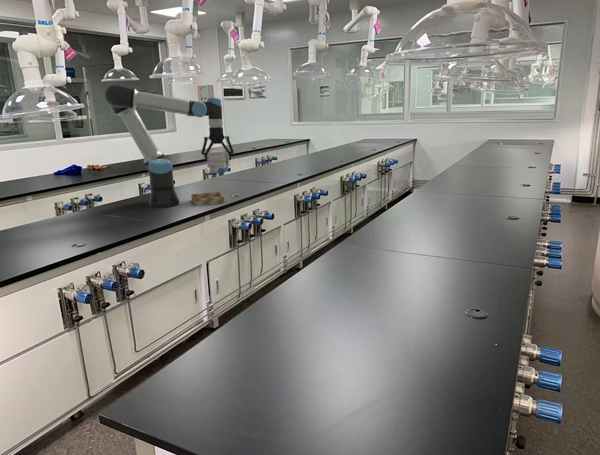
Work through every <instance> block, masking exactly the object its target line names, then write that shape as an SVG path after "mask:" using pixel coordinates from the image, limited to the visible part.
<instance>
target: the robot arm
mask: <svg viewBox="0 0 600 455" xmlns="http://www.w3.org/2000/svg"><path fill="white" fill-rule="evenodd" d="M104 98H105V100H106V102H107V104H109V106H111V109H112V110H113V112H114V114H115V115H116V116H118V117H120V118H121V119H122V120H121V121H122V122H123V123H124V125H125V127H126V129H127V130H128V133H129V134H130V136H131V138H132V139H133V141H134V143H135V144H136V146H137V148H138V150H139V151H140V153H141V155H142V157H143V164H144V165H145V167H146V169H147V171H148V174H149V182H150V197H149V200H148V203H149V207H150V208H157V209H159V208H160V209H161V208H170V207H174V206H175V207H176V206H178V205H179V204H180V200H179V197H178V194H177V192H176V189H175V184H174V174H173V173H174V171H173V163H172V161H171V160H170V159H167V157H166V156H165V154H164V152H162V151H160V150H159V149H158V147H157V145H156V143H155V141H154V140H153V138H152V136H151V134H150V132H149V131H148V129H147V127H146V125H145V123H144V122H143V120H142V118H141V117H140V114H139V113H138V111H137V108H142V109H149V110H154V111H159V112H160V111H161V112H167V113H173V114H179V115H185V116H187V117H196V118H203V117H208V126H209V130H208V131H209V136H204V137H203V145H202V149H201V155H203V156H204V161H205V162H206V165H207V166H206V167H207V168H209V156H208V152H210V151H211V149H212V148H213V145H220V144H221V146H222V147H223V149H224V151H227V167H230V161H231V160H232V155H233V154H234V153H235V150H234V149H233V146H232V143H231V141H230V136H229V135H226V136H225V135H224V127H223V105H222V99H221V98H220V97H208V98H207V99H206V100H207V101H197V100H189V99H185V98H180V97H174V96H167V95H162V94H156V93H152V92H151V93H149V92H145V91H139V90H138V89H136V88H134V87H130V86H126V85H124V84H121V83H117V82H116V83H115V82H114V83H111V84H110V85H108V86H107V87H105V91H104ZM224 139H225V141H226V143H227V145H228V147H227V146H226V144H225V142H224ZM209 140H210V142H209V145H208V147H207V143H208V141H209ZM206 147H207V148H206ZM228 148H229V149H228ZM209 169H210V168H209Z"/></svg>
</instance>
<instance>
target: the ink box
mask: <svg viewBox="0 0 600 455" xmlns="http://www.w3.org/2000/svg"><path fill="white" fill-rule="evenodd" d="M227 154H228V153H227V151H226V150H210V151H209V152H208V156H209V174H218V173H219V174H225V173H226V172H228V171H229V170H228V167H229V166H227Z"/></svg>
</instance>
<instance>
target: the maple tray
mask: <svg viewBox="0 0 600 455" xmlns="http://www.w3.org/2000/svg"><path fill="white" fill-rule="evenodd" d="M191 202H192V203H193V205H194V206H203V205H212V204H213V205H214V204H215V205H216V204H224V203H225V195H223V193H222V192H221V191H214V192H202V193H191Z"/></svg>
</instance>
